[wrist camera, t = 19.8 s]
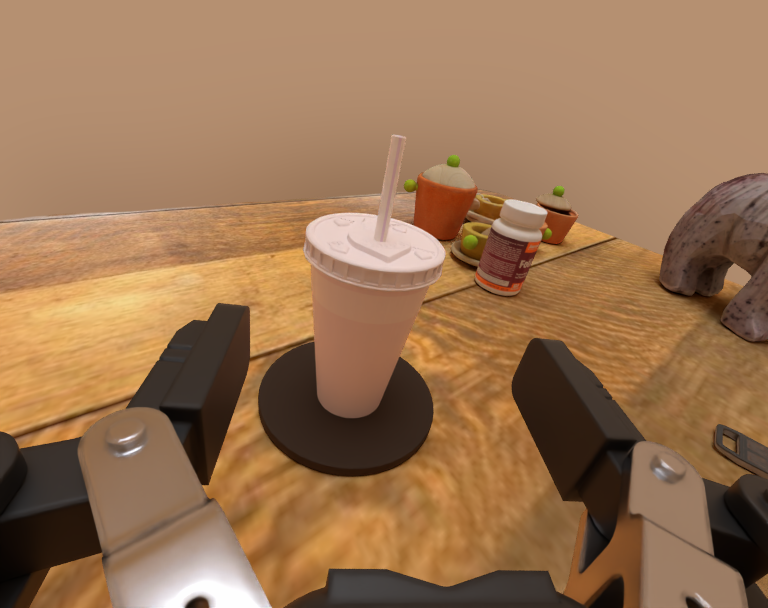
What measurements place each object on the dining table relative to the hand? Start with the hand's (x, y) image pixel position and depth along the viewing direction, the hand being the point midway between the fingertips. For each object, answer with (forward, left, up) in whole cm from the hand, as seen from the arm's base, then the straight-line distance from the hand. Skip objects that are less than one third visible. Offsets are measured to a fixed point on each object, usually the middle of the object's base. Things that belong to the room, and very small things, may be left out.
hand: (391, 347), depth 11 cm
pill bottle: (+24, +16, -10) cm, 31 cm away
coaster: (+3, +7, -10) cm, 13 cm away
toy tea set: (+34, +28, -10) cm, 45 cm away
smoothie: (+3, +7, -10) cm, 12 cm away
